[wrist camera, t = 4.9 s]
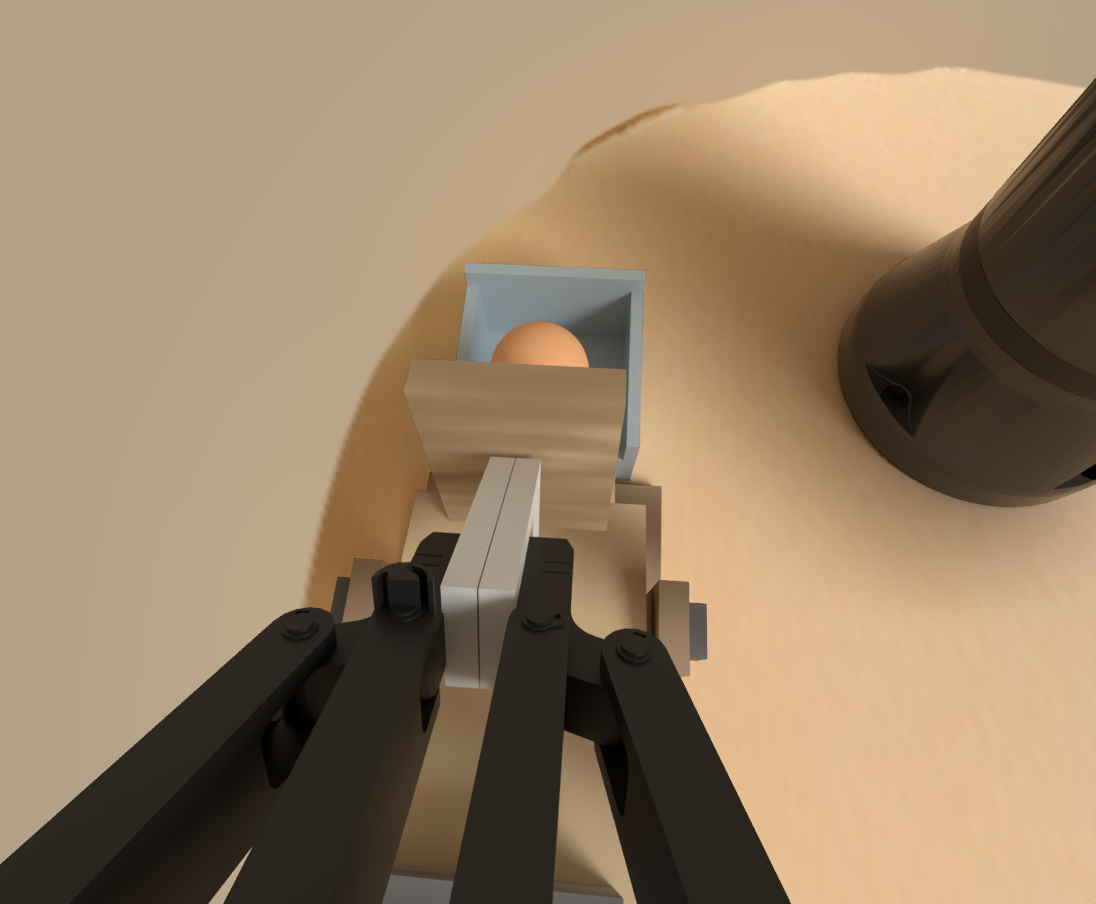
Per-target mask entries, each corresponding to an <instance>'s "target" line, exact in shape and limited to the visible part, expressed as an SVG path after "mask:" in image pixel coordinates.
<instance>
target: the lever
mask: <svg viewBox="0 0 1096 904" xmlns="http://www.w3.org/2000/svg"><path fill="white" fill-rule="evenodd" d="M403 393H404V396H405V399H406V401H407V404H408V407H409V410H410V413H411V415H412V418H413V421H414V424H415V427H416V429H417V432H418V435H419V438H420V441H421V443H422V446H423V449H424V452H425V455H426V457H427V460H428V463H429V466H430V468H431V471H432V474H433V477H434V480H435V482H436V485H437V488H438V491H439V492H433V491H417V492H416V496H415V501H414V505H413V510H412V514H411V519H410V523H409V528H408V532H407V537H406V541H405V546H404V550H403V554H402V559H401V562H411V560H412V558H413V556H414V555H415V551H416V549H417V547H418V545H419V543H420V542H421V541H422V540H423V539H424V538H426V537H427V536H428V535H430V534H431V533H432V532H446V533H461V532H462V529H463V526H464V524H465V521H466V519H467V516H468V513H469V511H470V508H471V506H472V503H473V501H474V498H475V495H476V493H477V490H478V488H479V485H480V483H481V480H482V477H483V475H484V472H485V470H486V467H487V464H488V462H489V459H490V457H506V458H515V460H516V458H524V459H541V473H540V509H539V537H547V538H562V539H567V540H568V541H569V543H570V544H571V546H572V547H573V549H574V564H573V582H572V600H571V615H572V618H573V620H574V622H575V623H576V624H577V625H578V626H579V627H580V628H581V629H582V630H584V631H585V632H587V633H589V634H591V635H594V636H596V637H599V638H602V639H605V637H606V636H607V635H609V634H610V633H612V632H613V631H616V630H620V629H624V628H629V629H639V630H643V631H646V632H647V626H646V505H635V504H619V503H615V470H616V464H617V457H618V451H619V445H620V438H621V432H622V425H623V419H624V412H625V406H626V369H609V368H590V367H570V366H551V365H532V364H512V363H493V362H474V361H454V360H435V359H416V358H412V360H411V364H410V368H409V372H408V376H407V379H406V383H405V387H404V391H403ZM492 694H493V690H491V689H480V686H479V689H477V688H464V687H451V686H445V670H444V673H443V677H442V680H441V683H440V707H439V710H438V714H437V717H436V721H435V724H434V727H433V731H432V734H431V738H430V741H429V745H428V748H427V751H426V755H425V758H424V762H423V765H422V769H421V772H420V775H419V779H418V782H417V786H416V789H415V793H414V796H413V799H412V803H411V806H410V810H409V813H408V817H407V820H406V823H405V827H404V830H403V834H402V837H401V841H400V844H399V847H398V851H397V854H396V858H395V861H394V865H393V868H392V871H391V875H390V878H389V882H388V885H387V889H386V892H385V895H384V899H383V902H382V904H449V901H450V896H451V892H452V887H453V882H454V877H455V872H456V867H457V863H458V858H459V853H460V848H461V843H462V839H463V834H464V829H465V824H466V819H467V815H468V810H469V805H470V800H471V795H472V791H473V786H474V781H475V776H476V771H477V766H478V762H479V757H480V752H481V747H482V742H483V738H484V733H485V728H486V723H487V718H488V714H489V709H490V704H491V699H492ZM553 904H637V903H636V899H635V896H634V892H633V888H632V885H631V881H630V877H629V874H628V870H627V866H626V863H625V859H624V856H623V852H622V848H621V845H620V841H619V837H618V834H617V830H616V826H615V823H614V819H613V815H612V812H611V808H610V805H609V801H608V797H607V794H606V790H605V786H604V783H603V779H602V775H601V772H600V768H599V764H598V761H597V757H596V754H595V750H594V742H593V741H590V740H588V739H585V738H583V737H580V736H577V735H575V734H572V733H570V732H567V731H565V730H564V740H563V753H562V769H561V786H560V802H559V818H558V834H557V850H556V866H555V882H554V898H553Z"/></svg>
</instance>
